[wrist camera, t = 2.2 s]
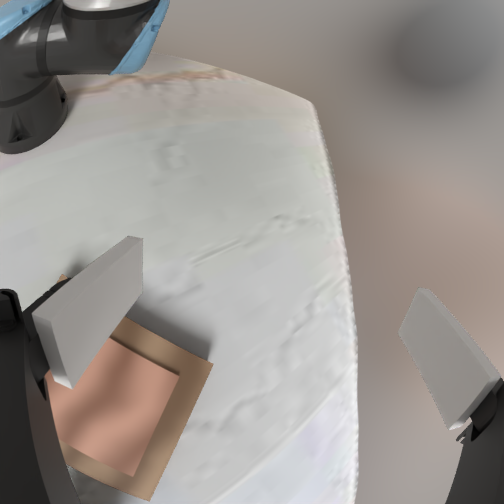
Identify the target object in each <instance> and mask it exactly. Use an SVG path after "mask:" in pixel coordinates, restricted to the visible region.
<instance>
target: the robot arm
mask: <svg viewBox="0 0 504 504" xmlns="http://www.w3.org/2000/svg"><path fill="white" fill-rule="evenodd" d="M169 2H170V0H12V1H10V2H8V3H6V4H5V5H3V6H2V7H0V152H3V153H6V154H18V153H22V152H26V151H29V150H31V149H33V148H35V147H37V146H39V145H41V144H42V143H44V142H45V141H47V140H48V139H49V138H50V137H52V136H53V135H54V134H55V133H56V132H57V131H58V129H59V128H60V127H61V125H62V124H63V122H64V120H65V118H66V115H67V111H68V106H67V97H66V93H65V91H64V90H63V88H62V86H61V84H60V82H59V80H58V78H57V76H56V75H73V74H108V75H113V74H129V73H134V72H136V71H138V70H140V69H141V68H142V67H143V65H144V64H145V62H146V60H147V58H148V56H149V53H150V51H151V48H152V46H153V44H154V42H155V39H156V37H157V34H158V29H159V28H160V26H161V24H162V22H163V19H164V17H165V14H166V12H167V9H168V6H169ZM142 293H143V238H137V237H132V236H127V237H126V238H124V239H123V240H122V241H120V242H119V243H118V244H116V245H115V246H114V247H112V248H111V249H110V250H108V251H107V252H106V253H104V254H103V255H102V256H100V257H99V258H98V259H96V260H95V261H94V262H92V263H91V264H90V265H89V266H87V267H86V268H85V269H83V270H82V271H81V272H80V273H78V274H77V275H76V276H75V277H73V278H67V279H65V280H63V281H60V282H58V283H57V284H55V285H54V286H53V287H52V288H50V289H49V291H47V292H45V293H44V294H43V296H41V297H39V298H38V299H37V300H36V301H35V302H33V303H32V304H31V305H30V306H29V307H28V308H27V309H25V310H24V311H23V312H22V310H21V306H20V303H19V299H18V295H17V293H16V292H15V291H14V290H11V289H0V504H81V503H80V501H79V498H78V496H77V493H76V491H75V488H74V486H73V483H72V480H71V478H70V475H69V472H68V469H67V466H66V463H65V460H64V457H63V453H62V450H61V446H60V443H59V439H58V435H57V431H56V427H55V423H54V418H53V413H52V408H51V403H50V398H49V392H48V385H47V381H46V379H45V375H46V373H47V372H48V371H49V369H50V371H51V373H52V376H53V378H54V381H56V382H58V383H60V384H62V385H64V386H66V387H68V388H70V389H72V390H73V388H74V387H75V385H76V384H77V382H78V381H79V379H80V378H81V376H82V375H83V373H84V372H85V370H86V369H87V367H88V366H89V364H90V363H91V362H92V360H93V359H94V357H95V356H96V354H97V353H98V352H99V350H100V349H101V347H102V346H103V345H104V343H105V342H106V340H107V339H108V338H109V336H110V335H111V334H112V332H113V331H114V329H115V328H116V327H117V325H118V324H119V323H120V321H121V320H122V319H123V317H124V316H125V315H126V313H127V312H128V311H129V309H130V308H131V307H132V305H133V304H134V303H135V302H136V300H137V299H138V298H139V296H140V295H141V294H142ZM398 334H399V336H400V338H401V339H402V341H403V343H404V345H405V347H406V348H407V350H408V352H409V354H410V355H411V357H412V359H413V361H414V362H415V365H416V366H417V368H418V370H419V372H420V374H421V376H422V378H423V380H424V381H425V383H426V385H427V387H428V389H429V391H430V393H431V395H432V397H433V399H434V401H435V403H436V405H437V407H438V409H439V411H440V414H441V415H442V418H443V420H444V422H445V424H446V426H447V429H448V430H450V429H454V428H458V427H461V426H462V425H463V424H464V423H465V421H466V420H467V419H468V418H469V417H470V418H471V419H472V422H471V424H470V425H469V426H468V427H467V428H466V429H465V430H464V431H463V432H462V433H461V434H460V435H459V436H458V437H457V439H456V441H459V440H460V439H461V438H462V437H465V438H464V439H463V440H462V441H461V443H462V444H464V445H463V449H462V453H461V457H460V461H459V464H458V468H457V471H456V474H455V478H454V481H453V484H452V487H451V490H450V492H449V495H448V498H447V501H446V503H445V504H504V381H503V379H502V378H501V375H500V373H499V372H498V370H497V369H496V368H495V366H494V365H493V364H492V363H491V361H490V360H489V358H488V357H487V356H486V354H484V352H483V351H482V350H481V348H480V347H479V346H478V344H477V343H476V342H475V341H474V339H473V338H472V337H471V336H470V334H469V333H468V332H467V331H466V330H465V328H463V326H462V325H461V324H460V323H459V322H458V320H457V319H456V318H455V317H454V316H453V315H452V314H451V312H450V311H449V310H448V309H447V308H446V307H445V306H444V304H443V303H441V301H440V300H439V299H438V298H437V297H436V296H435V295H434V294H433V293H432V292H431V290H430V289H426V288H420V287H418V289H417V291H416V294H415V296H414V298H413V301H412V303H411V305H410V307H409V310H408V312H407V314H406V316H405V319H404V321H403V323H402V325H401V327H400V329H399V331H398Z"/></svg>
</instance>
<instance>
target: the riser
mask: <svg viewBox="0 0 504 504" xmlns="http://www.w3.org/2000/svg"><path fill="white" fill-rule="evenodd" d="M65 279H67V277H65V276H64V275H63V274H62V275H61V277H60V278H59V280H58V282H60V281H63V280H65ZM58 282H57V283H58ZM57 283H56V284H57ZM212 367H213V363H210V362H208V361H206V360H204V359H202V358H200V357H198V356H196V355H194V354H192V353H190V352H188V351H186V350H184V349H182V348H180V347H178V346H176V345H175V344H173V343H171V342H169V341H167V340H165V339H163V338H162V337H160V336H158V335H156V334H154V333H153V332H151V331H149V330H147V329H146V328H144V327H142V326H140V325H139V324H137V323H135V322H134V321H132V320H130V319H129V318H127V317H125V316H124V317H123V319H122V320H121V321H120V323H119V324H118V325H117V327H116V328H115V329H114V331H113V332H112V334H111V335H110V336H109V338H108V339H107V340H106V342H105V343H104V345H103V346H102V347H101V349H100V350H99V352H98V353H97V354H96V356H95V357H94V359H93V360H92V362H91V363H90V364H89V366H88V367H87V369H86V370H85V372H84V373H83V375H82V376H81V378H80V379H79V381H78V382H77V384H76V385H75V387H74V388H73V390H72V389H70V388H68V387H66V386H64V385H62V384H60V383H58V382H56V381H54V378H53V376H52V373H51V371H50V369H49V371H48V372H47V373H46V375H45V379H46V381H47V385H48V392H49V398H50V403H51V408H52V413H53V418H54V423H55V427H56V431H57V435H58V439H59V443H60V446H61V450H62V453H63V457H64V460H65V463H66V464H67V465H69V466H71V467H72V468H74V469H76V470H78V471H80V472H82V473H84V474H86V475H88V476H90V477H92V478H94V479H96V480H98V481H100V482H102V483H104V484H106V485H109V486H111V487H113V488H115V489H118V490H120V491H123V492H125V493H128V494H130V495H133V496H135V497H138V498H141V499H144V500H147V501H150V499H151V497H152V495H153V493H154V491H155V489H156V487H157V485H158V483H159V480H160V478H161V476H162V474H163V472H164V470H165V468H166V466H167V464H168V461H169V459H170V457H171V455H172V453H173V451H174V449H175V447H176V444H177V442H178V440H179V438H180V436H181V434H182V432H183V429H184V427H185V425H186V423H187V421H188V419H189V417H190V414H191V412H192V410H193V408H194V406H195V404H196V401H197V399H198V397H199V395H200V393H201V391H202V388H203V386H204V384H205V382H206V380H207V378H208V375H209V373H210V371H211V369H212Z"/></svg>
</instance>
